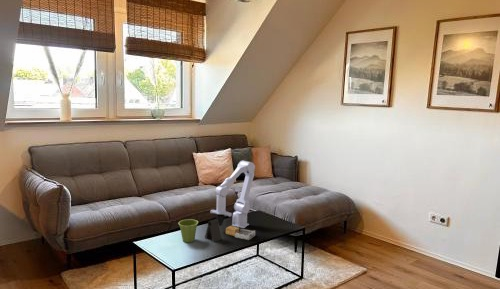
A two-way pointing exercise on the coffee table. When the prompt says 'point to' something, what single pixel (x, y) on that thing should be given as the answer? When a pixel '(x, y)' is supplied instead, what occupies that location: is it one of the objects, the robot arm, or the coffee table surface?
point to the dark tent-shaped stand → (213, 231)
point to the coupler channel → (249, 235)
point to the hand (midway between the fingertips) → (220, 225)
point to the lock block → (232, 230)
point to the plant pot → (188, 229)
